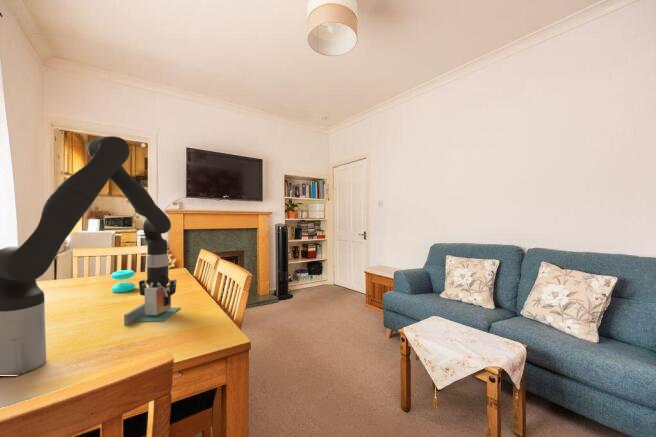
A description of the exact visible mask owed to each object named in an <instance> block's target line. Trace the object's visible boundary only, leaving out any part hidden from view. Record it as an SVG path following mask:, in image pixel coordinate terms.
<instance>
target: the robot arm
mask: <svg viewBox="0 0 656 437" xmlns="http://www.w3.org/2000/svg"><path fill="white" fill-rule="evenodd" d="M86 149H87V153H88V156H89V157H90V160H89V162H87V163H86V164H85V165H84V166H83V167H81V168H79V169H78V170H77V171H75V172H74V173H72V174H71V175H70V176H68V177H67V178H66V179H64V180H63V181H62V182H61V183H60V184H59V185H58V186H57V187H56V188H55V189H54V191H52V193H51V194H50V196H49V197H48V198H47V199H46V201H45V202H44V205H43V207H42V211H41V215H40V219H39V222H38V224H37V226H36V228H35V229H34V230H33V232H32V233H31V234H30V236H28V238H27V239H26V240H25V241H24V242H23V243H22V244H21V245H19V246H18V245H16V246H15V245H14V246H13V245H12V246H5V247H2V248H1V249H0V375H19V374H20V373H23V372H26V373H28V372H27V371H29V372H31V371H33V370H36V369H38V368H40V367H41V366H43V365H44V364H45V363H46V362H47V344H46V342H47V339H46V338H47V337H46V311H45V309H46V308H45V301H46V300H45V293H44V291H43V290H42V289H41V288H40V287H39V285H38V284H37V279H39V278H40V277H42V276H44V275H45V273H47V271H48V270H49V268H50V267H51V265H52V263H53V262H54V260H55V258H56V256H57V255H58V253H59V251H60V249H61V248H62V246H63V244H64V243H65V241H66V240H67V238H68V236H69V235H70V233H71V232H72V231H73V230H74V228H75V227H76V226H77V224H78V223H79V222H80V220H81V219H82V217H83V216H85V214H86V213H87V211H88V210H89V208H90V207H91V206H92V204H93V203H94V202H95V201H96V198H97V197H98V196H99V194H100V193H101V192H102V190H103V189H104V187H105V186H106V184H108V182H109V180H111V181H112V182H113V183H114V185H116V186H117V189H119V190H120V191H121V193H123V195H124V196H125V198H126V199H127V201H128V202H129V203H130V205H131V207H133V209H134V210H135V212H136V213H137V214H138V215H139V216H140V217H141V216H142V217H143V218H145V219H144V221H143V224H142V229H143V234H144V238H145V241H146V245H147V246H146V247H147V251H146V252H147V253H146V277H147V278H146V279H141V280H140V281H138V286H139V287H138V289H139V294H140V296H143V297H145V288H147V286H148V288H152V287H159V288H162V292H163V293H164V295H165V306H167V305H169V303H170V296H171V297H172V296H173V295H174V294H176V289H177V279H170V278H169V255H168V251H169V250H168V242H167V241H168V240H166V239H164V238H163V236H162V234H166V233H168V232H169V231H170V230H171V228H172V227H171V226H172V223H171V219H170V218H169V217H168V215H167V214H165V212H164V211H163V210H162V209H161V208H160V207H159V206H158V205H157V204H156V203H155V201H154V200H153V198H152V196H151V195H150V192H148V190H147V189H146V188H145V187H144V186H143V185H142V184H141V183H140V182H138V181H137V180H136V179H135V178H134V177H132V175H130V173H128V172H127V171H126V169H125V168H124V166H123V165H124V163H125V162H127V160H128V159H129V157H130V154H131V149H130V145H129V143H128V142H127V141H126V140H125V139H123V138H121V137H119V136H112V135H110V136H103V137H99V138H94V139H92V140H90V141H89V142H88V144H87V146H86ZM167 284H169V285H170V291H169V287H167V288H166V289H164V287H165V286H167ZM30 370H31V371H30ZM23 374H24V373H23ZM20 375H21V374H20ZM20 375H19V376H20Z"/></svg>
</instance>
